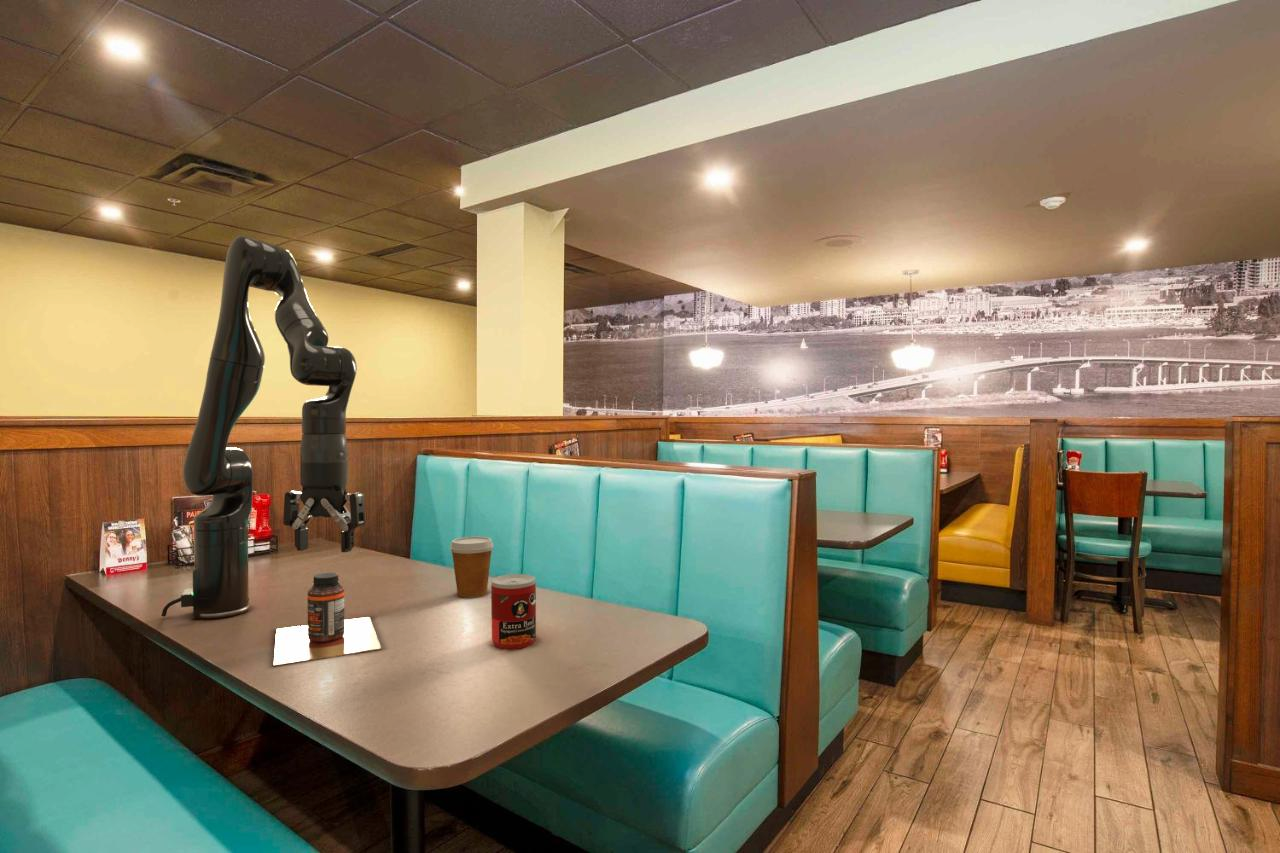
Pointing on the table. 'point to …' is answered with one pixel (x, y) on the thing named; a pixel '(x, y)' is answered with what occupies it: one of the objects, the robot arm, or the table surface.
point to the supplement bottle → (326, 608)
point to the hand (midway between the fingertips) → (324, 550)
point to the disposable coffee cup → (471, 565)
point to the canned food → (513, 611)
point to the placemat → (324, 643)
